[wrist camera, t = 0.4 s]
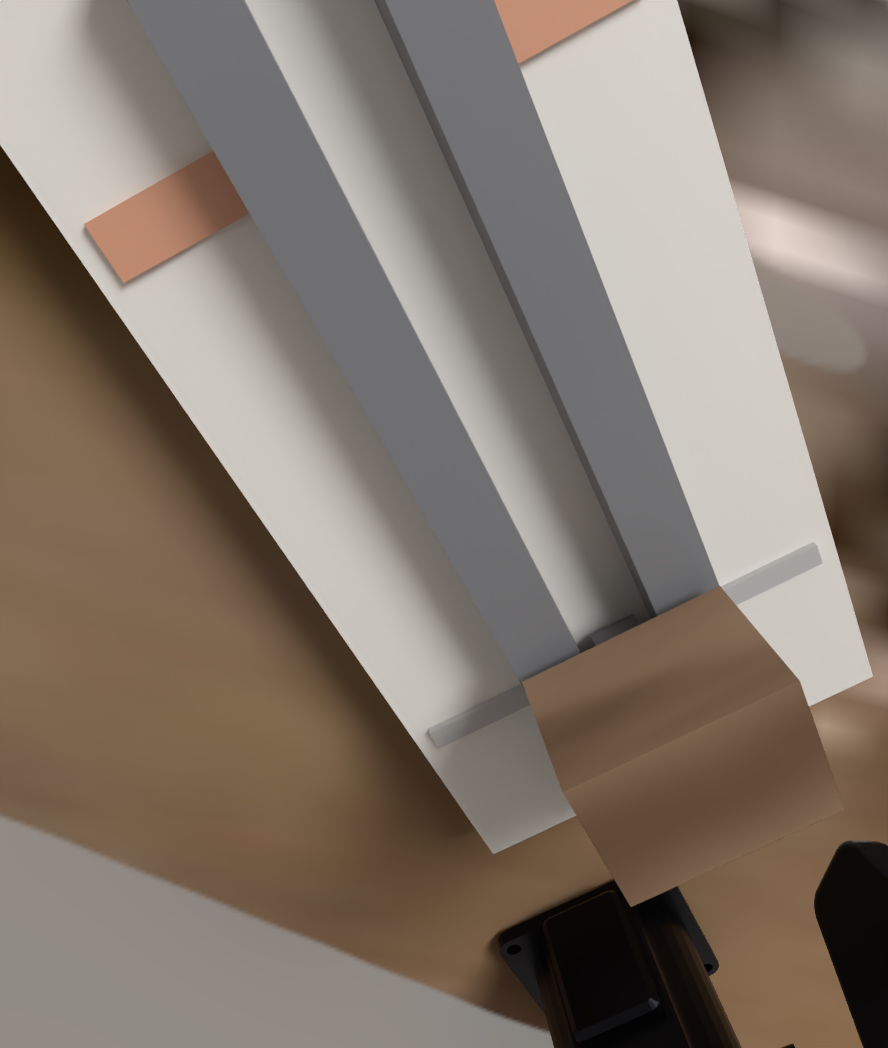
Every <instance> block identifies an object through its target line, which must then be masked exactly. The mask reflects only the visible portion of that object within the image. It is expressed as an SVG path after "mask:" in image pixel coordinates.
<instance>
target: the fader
mask: <svg viewBox="0 0 888 1048" xmlns="http://www.w3.org/2000/svg"><path fill="white" fill-rule="evenodd" d="M590 637H591V639H592V641H593V643H594V645H595V647H593V648H591V649H589V650H587V651H585V652H583V653H580V654H578V655H576V656H574V657H572V658H570V659H568V660H566V661H564V662H562V663H560V664H558V665H556V666H554V667H552V668H550V669H548V670H546V671H543V672H541V673H539V674H537V675H535V676H533V677H531V678H529V679H527V680H525V681H523V682H522V684H523V686H524V689H525V692H526V694H527V697H528V700H529V703H530V705H531V708H532V711H533V713H534V716H535V719H536V722H537V724H538V727H539V730H540V732H541V735H542V738H543V741H544V743H545V746H546V749H547V751H548V754H549V757H550V760H551V762H552V765H553V768H554V770H555V773H556V776H557V779H558V781H559V784H560V787H561V789H562V792H563V794H564V796H565V797H566V799H567V801H568V802H569V804H570V806H571V807H572V809H573V811H574V812H575V814H576V816H577V817H578V819H579V821H580V823H581V824H582V826H583V828H584V829H585V831H586V833H587V834H588V836H589V838H590V839H591V841H592V843H593V844H594V846H595V848H596V849H597V851H598V853H599V854H600V856H601V858H602V859H603V861H604V863H605V865H606V866H607V868H608V870H609V871H610V873H611V875H612V876H613V878H614V880H615V881H616V883H617V885H618V886H619V888H620V890H621V891H622V893H623V895H624V896H625V898H626V900H627V901H628V903H629V905H630V907H632V906H635V905H637V904H639V903H641V902H643V901H646V900H648V899H650V898H652V897H654V896H657V895H659V894H661V893H663V892H665V891H668V890H670V889H672V888H674V887H676V886H679V885H681V884H683V883H685V882H687V881H690V880H692V879H694V878H696V877H698V876H701V875H703V874H705V873H707V872H709V871H711V870H714V869H716V868H718V867H720V866H722V865H725V864H727V863H729V862H731V861H733V860H736V859H738V858H740V857H742V856H744V855H747V854H749V853H751V852H753V851H755V850H758V849H760V848H762V847H764V846H766V845H769V844H771V843H773V842H775V841H777V840H780V839H782V838H784V837H786V836H788V835H790V834H793V833H795V832H797V831H799V830H801V829H804V828H806V827H808V826H810V825H812V824H815V823H817V822H819V821H821V820H823V819H826V818H828V817H830V816H832V815H834V814H837V813H839V812H841V811H843V810H845V809H844V806H843V803H842V800H841V797H840V794H839V791H838V789H837V786H836V783H835V780H834V777H833V774H832V771H831V769H830V766H829V763H828V760H827V757H826V754H825V751H824V749H823V746H822V743H821V740H820V737H819V734H818V731H817V729H816V726H815V723H814V720H813V717H812V714H811V711H810V709H809V706H808V703H807V700H806V697H805V694H804V691H803V689H802V686H801V683H800V680H799V679H798V678H797V677H796V676H795V674H794V673H793V672H792V671H791V670H790V669H789V667H788V666H787V665H786V664H785V663H784V661H783V660H782V659H781V658H780V657H779V655H778V654H777V653H776V652H775V651H774V649H773V648H772V647H771V646H770V645H769V644H768V642H767V641H766V640H765V639H764V638H763V636H762V635H761V634H760V633H759V632H758V630H757V629H756V628H755V627H754V626H753V625H752V623H751V622H750V621H749V620H748V619H747V617H746V616H745V615H744V614H743V613H742V611H741V610H740V609H739V608H738V607H737V605H736V604H735V603H734V602H733V601H732V600H731V598H730V597H729V596H728V595H727V594H726V592H725V591H724V590H723V589H722V588H721V586H718V587H716V588H714V589H712V590H710V591H708V592H706V593H704V594H702V595H700V596H698V597H696V598H694V599H692V600H689V601H687V602H685V603H683V604H681V605H679V606H677V607H675V608H673V609H671V610H669V611H667V612H665V613H663V614H661V615H659V616H657V617H655V618H652V619H650V620H648V621H646V622H644V623H642V624H640V625H639V623H638V622H637V620H636V618H635V617H634V615H633V614H631V615H629V616H627V617H625V618H623V619H621V620H619V621H617V622H615V623H613V624H611V625H609V626H607V627H605V628H603V629H600V630H598V631H596V632H594V633H592V634H590Z"/></svg>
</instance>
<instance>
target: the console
mask: <svg viewBox="0 0 888 1048" xmlns="http://www.w3.org/2000/svg"><path fill="white" fill-rule="evenodd" d="M0 145H1V147H2V148H3V150H4V151H5V152H6V154H7V155H8V157H9V158H10V160H11V161H12V163H13V164H14V165H15V167H16V168H17V170H18V171H19V173H20V174H21V175H22V177H23V178H24V180H25V181H26V183H27V184H28V186H29V187H30V188H31V190H32V191H33V193H34V194H35V196H36V197H37V199H38V200H39V201H40V203H41V204H42V206H43V207H44V209H45V210H46V211H47V213H48V214H49V216H50V217H51V219H52V220H53V222H54V223H55V224H56V226H57V227H58V229H59V230H60V232H61V233H62V234H63V236H64V237H65V239H66V240H67V242H68V243H69V245H70V246H71V247H72V249H73V250H74V252H75V253H76V255H77V256H78V258H79V259H80V260H81V262H82V263H83V265H84V266H85V268H86V269H87V270H88V272H89V273H90V275H91V276H92V278H93V279H94V281H95V282H96V283H97V285H98V286H99V288H100V289H101V291H102V292H103V293H104V295H105V296H106V298H107V299H108V301H109V302H110V304H111V305H112V306H113V308H114V309H115V311H116V312H117V314H118V315H119V316H120V318H121V319H122V321H123V322H124V324H125V325H126V327H127V328H128V329H129V331H130V332H131V334H132V335H133V337H134V338H135V340H136V341H137V342H138V344H139V345H140V347H141V348H142V350H143V351H144V352H145V354H146V355H147V357H148V358H149V360H150V361H151V363H152V364H153V365H154V367H155V368H156V370H157V371H158V373H159V374H160V375H161V377H162V378H163V380H164V381H165V383H166V384H167V386H168V387H169V388H170V390H171V391H172V393H173V394H174V396H175V397H176V399H177V400H178V401H179V403H180V404H181V406H182V407H183V409H184V410H185V411H186V413H187V414H188V416H189V417H190V419H191V420H192V422H193V423H194V424H195V426H196V427H197V429H198V430H199V432H200V433H201V434H202V436H203V437H204V439H205V440H206V442H207V443H208V445H209V446H210V447H211V449H212V450H213V452H214V453H215V455H216V456H217V458H218V459H219V460H220V462H221V463H222V465H223V466H224V468H225V469H226V470H227V472H228V473H229V475H230V476H231V478H232V479H233V481H234V482H235V483H236V485H237V486H238V488H239V489H240V491H241V492H242V493H243V495H244V496H245V498H246V499H247V501H248V502H249V504H250V505H251V506H252V508H253V509H254V511H255V512H256V514H257V515H258V517H259V518H260V519H261V521H262V522H263V524H264V525H265V527H266V528H267V529H268V531H269V532H270V534H271V535H272V537H273V538H274V540H275V541H276V542H277V544H278V545H279V547H280V548H281V550H282V551H283V552H284V554H285V555H286V557H287V558H288V560H289V561H290V563H291V564H292V565H293V567H294V568H295V570H296V571H297V573H298V574H299V576H300V577H301V578H302V580H303V581H304V583H305V584H306V586H307V587H308V588H309V590H310V591H311V593H312V594H313V596H314V597H315V599H316V600H317V601H318V603H319V604H320V606H321V607H322V609H323V610H324V611H325V613H326V614H327V616H328V617H329V619H330V620H331V622H332V623H333V624H334V626H335V627H336V629H337V630H338V632H339V633H340V634H341V636H342V637H343V639H344V640H345V642H346V643H347V645H348V646H349V647H350V649H351V650H352V652H353V653H354V655H355V656H356V658H357V659H358V660H359V662H360V663H361V665H362V666H363V668H364V669H365V670H366V672H367V673H368V675H369V676H370V678H371V679H372V681H373V682H374V683H375V685H376V686H377V688H378V689H379V691H380V692H381V693H382V695H383V696H384V698H385V699H386V701H387V702H388V704H389V705H390V706H391V708H392V709H393V711H394V712H395V714H396V715H397V717H398V718H399V719H400V721H401V722H402V724H403V725H404V727H405V728H406V729H407V731H408V732H409V734H410V735H411V737H412V738H413V740H414V741H415V742H416V744H417V745H418V747H419V748H420V750H421V751H422V752H423V754H424V755H425V757H426V758H427V760H428V761H429V763H430V764H431V765H432V767H433V768H434V770H435V771H436V773H437V774H438V776H439V777H440V778H441V780H442V781H443V783H444V784H445V786H446V787H447V788H448V790H449V791H450V793H451V794H452V796H453V797H454V799H455V800H456V801H457V803H458V804H459V806H460V807H461V809H462V810H463V811H464V813H465V814H466V816H467V817H468V819H469V820H470V822H471V823H472V824H473V826H474V827H475V829H476V830H477V832H478V833H479V835H480V836H481V837H482V839H483V840H484V842H485V843H486V845H487V846H488V847H489V849H490V850H491V852H492V853H493V854H495V853H497V852H499V851H502V850H504V849H506V848H508V847H510V846H512V845H514V844H517V843H519V842H521V841H523V840H525V839H527V838H529V837H531V836H534V835H536V834H538V833H540V832H542V831H544V830H546V829H549V828H551V827H553V826H555V825H557V824H559V823H561V822H563V821H566V820H568V819H570V818H572V817H574V816H576V814H575V812H574V811H573V809H572V807H571V806H570V804H569V802H568V801H567V799H566V797H565V796H564V794H563V792H562V789H561V787H560V784H559V781H558V779H557V776H556V773H555V770H554V768H553V765H552V762H551V760H550V757H549V754H548V751H547V749H546V746H545V743H544V741H543V738H542V735H541V732H540V730H539V727H538V724H537V722H536V719H535V716H534V713H533V711H532V708H531V705H530V703H529V700H528V697H527V694H526V692H525V689H524V686H523V684H522V682H523V681H525V680H527V679H529V678H531V677H533V676H535V675H537V674H539V673H541V672H543V671H546V670H548V669H550V668H552V667H554V666H556V665H558V664H560V663H562V662H564V661H566V660H568V659H570V658H572V657H574V656H576V655H578V654H580V653H583V652H585V651H587V650H589V649H591V648H593V647H595V645H594V643H593V641H592V639H591V637H590V634H592V633H594V632H596V631H598V630H600V629H603V628H605V627H607V626H609V625H611V624H613V623H615V622H617V621H619V620H621V619H623V618H625V617H627V616H629V615H631V614H633V615H634V617H635V618H636V620H637V622H638V623H639V625H640V624H642V623H644V622H646V621H648V620H650V619H652V618H655V617H657V616H659V615H661V614H663V613H665V612H667V611H669V610H671V609H673V608H675V607H677V606H679V605H681V604H683V603H685V602H687V601H689V600H692V599H694V598H696V597H698V596H700V595H702V594H704V593H706V592H708V591H710V590H712V589H714V588H716V587H718V586H721V588H722V589H723V590H724V591H725V592H726V594H727V595H728V596H729V597H730V598H731V600H732V601H733V602H734V603H735V604H736V605H737V607H738V608H739V609H740V610H741V611H742V613H743V614H744V615H745V616H746V617H747V619H748V620H749V621H750V622H751V623H752V625H753V626H754V627H755V628H756V629H757V630H758V632H759V633H760V634H761V635H762V636H763V638H764V639H765V640H766V641H767V642H768V644H769V645H770V646H771V647H772V648H773V649H774V651H775V652H776V653H777V654H778V655H779V657H780V658H781V659H782V660H783V661H784V663H785V664H786V665H787V666H788V667H789V669H790V670H791V671H792V672H793V673H794V674H795V676H796V677H797V678H798V679H799V680H800V683H801V686H802V689H803V691H804V694H805V697H806V700H807V703H808V706H811V705H813V704H815V703H817V702H820V701H822V700H824V699H826V698H828V697H830V696H832V695H835V694H837V693H839V692H841V691H843V690H845V689H847V688H849V687H852V686H854V685H856V684H858V683H860V682H862V681H864V680H867V679H869V678H871V677H873V675H872V671H871V668H870V664H869V661H868V658H867V654H866V651H865V647H864V644H863V640H862V637H861V633H860V630H859V627H858V623H857V620H856V616H855V613H854V609H853V606H852V602H851V599H850V596H849V592H848V589H847V585H846V582H845V578H844V575H843V571H842V568H841V564H840V561H839V558H838V554H837V551H836V547H835V544H834V540H833V537H832V533H831V530H830V527H829V523H828V520H827V516H826V513H825V509H824V506H823V502H822V499H821V496H820V492H819V489H818V485H817V482H816V478H815V475H814V471H813V468H812V464H811V461H810V458H809V454H808V451H807V447H806V444H805V440H804V437H803V433H802V430H801V427H800V423H799V420H798V416H797V413H796V409H795V406H794V402H793V399H792V395H791V392H790V389H789V385H788V382H787V378H786V375H785V371H784V368H783V364H782V361H781V358H780V354H779V351H778V347H777V344H776V340H775V337H774V333H773V330H772V327H771V323H770V320H769V317H768V313H767V309H766V306H765V303H764V299H763V296H762V293H761V289H760V285H759V282H758V278H757V275H756V271H755V268H754V264H753V261H752V258H751V254H750V251H749V247H748V244H747V240H746V237H745V233H744V230H743V226H742V223H741V220H740V216H739V213H738V209H737V206H736V202H735V199H734V195H733V192H732V189H731V185H730V182H729V178H728V175H727V171H726V168H725V164H724V161H723V158H722V154H721V151H720V147H719V144H718V140H717V137H716V133H715V130H714V126H713V123H712V120H711V116H710V113H709V109H708V106H707V102H706V99H705V95H704V92H703V89H702V85H701V82H700V78H699V75H698V71H697V68H696V64H695V61H694V57H693V54H692V51H691V47H690V44H689V40H688V37H687V33H686V30H685V26H684V23H683V20H682V16H681V13H680V9H679V6H678V2H677V0H0Z"/></svg>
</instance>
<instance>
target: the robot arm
mask: <svg viewBox="0 0 888 1048" xmlns="http://www.w3.org/2000/svg"><path fill="white" fill-rule="evenodd" d="M814 909H815V915H816V918H817V921H818V924H819V927H820V930H821V932H822V935H823V938H824V941H825V943H826V946H827V949H828V952H829V954H830V957H831V960H832V963H833V965H834V968H835V971H836V974H837V976H838V979H839V982H840V985H841V987H842V990H843V993H844V996H845V999H846V1001H847V1004H848V1007H849V1010H850V1012H851V1015H852V1018H853V1021H854V1023H855V1026H856V1029H857V1032H858V1034H859V1037H860V1040H861V1042H862V1045H863V1047H864V1048H888V846H887V845H885V844H883V843H880V842H875V841H846V842H844V843H843V844H841V845H840V846H839V847H838V849H837V850H836V852H835V854H834V856H833V858H832V860H831V862H830V864H829V866H828V868H827V870H826V872H825V874H824V876H823V878H822V880H821V882H820V884H819V886H818V888H817V891H816V893H815V899H814ZM498 947H499V951H500V954H501V956H502V958H503V959H504V960H505V962H506V963H507V964H508V966H509V967H510V968H511V969H512V971H513V972H514V973H515V975H516V976H517V977H518V979H519V980H520V981H521V983H522V984H523V985H524V987H525V988H526V989H527V990H528V992H529V993H530V994H531V996H532V997H533V998H534V1000H535V1001H536V1002H537V1004H538V1005H539V1006H540V1008H541V1009H542V1010H543V1012H544V1013H545V1014H546V1018H547V1022H548V1026H549V1030H550V1034H551V1037H552V1041H553V1045H554V1048H741V1046H740V1043H739V1041H738V1039H737V1037H736V1035H735V1033H734V1030H733V1028H732V1026H731V1024H730V1022H729V1019H728V1017H727V1015H726V1013H725V1011H724V1008H723V1006H722V1004H721V1002H720V1000H719V998H718V995H717V993H716V991H715V989H714V987H713V984H712V982H711V980H710V978H709V976H710V975H712V974H713V973H715V972H716V971H717V970H718V967H719V963H718V961H717V959H716V957H715V955H714V953H713V951H712V949H711V947H710V945H709V943H708V941H707V940H706V938H705V936H704V934H703V932H702V930H701V928H700V927H699V925H698V923H697V921H696V919H695V917H694V915H693V914H692V912H691V910H690V908H689V906H688V904H687V902H686V901H685V899H684V897H683V895H682V893H681V891H680V889H679V888H678V886H676V887H674V888H672V889H670V890H668V891H665V892H663V893H661V894H659V895H657V896H654V897H652V898H650V899H648V900H646V901H643V902H641V903H639V904H637V905H635V906H632V907H630V905H629V903H628V901H627V900H626V898H625V896H624V895H623V893H622V891H621V890H620V888H619V886H618V885H617V883H616V881H615V882H613V883H611V884H609V885H606V886H604V887H602V888H600V889H598V890H595V891H593V892H591V893H589V894H587V895H585V896H582V897H580V898H578V899H576V900H574V901H572V902H569V903H567V904H565V905H563V906H561V907H558V908H556V909H554V910H552V911H550V912H548V913H545V914H543V915H541V916H539V917H537V918H535V919H532V920H530V921H528V922H526V923H524V924H521V925H519V926H517V927H515V928H513V929H511V930H508V931H506V932H505V933H503V934H501V936H500V937H499V938H498ZM782 1048H795V1046H794V1045H793V1043H792V1044H790V1045H787V1046H784V1047H782Z"/></svg>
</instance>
